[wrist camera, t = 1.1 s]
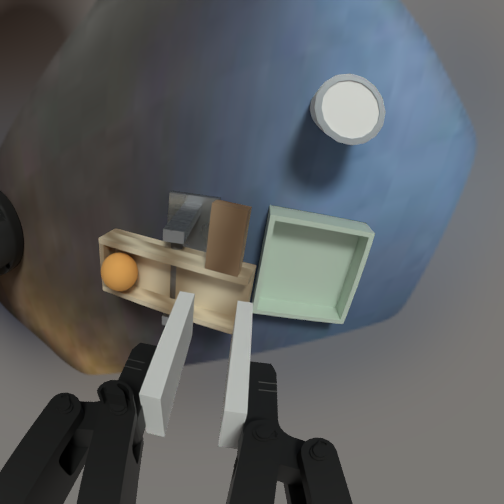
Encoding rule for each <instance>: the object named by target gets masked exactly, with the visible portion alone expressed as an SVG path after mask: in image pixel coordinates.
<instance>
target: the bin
mask: <svg viewBox="0 0 504 504" xmlns="http://www.w3.org/2000/svg"><path fill="white" fill-rule="evenodd" d="M374 235H375V233H374V232H373V231H372V230H371V228H370V227H369V226H368V225H367V224H366V223H363V222H358V221H353V220H348V219H343V218H338V217H333V216H328V215H322V214H317V213H312V212H306V211H301V210H295V209H289V208H283V207H278V206H272V205H270V207H269V212H268V218H267V223H266V228H265V234H264V239H263V244H262V250H261V255H260V260H259V265H258V271H257V276H256V281H255V286H254V292H253V297H252V303H253V313H256V314H263V315H270V316H277V317H285V318H293V319H301V320H310V321H318V322H327V323H337V324H343V323H344V320H345V318H346V315H347V313H348V310H349V307H350V305H351V302H352V300H353V297H354V294H355V291H356V289H357V286H358V283H359V280H360V278H361V275H362V272H363V269H364V266H365V263H366V260H367V257H368V254H369V251H370V248H371V245H372V242H373V239H374Z"/></svg>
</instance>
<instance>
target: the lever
mask: <svg viewBox="0 0 504 504" xmlns="http://www.w3.org/2000/svg"><path fill="white" fill-rule="evenodd" d="M251 208H252V207H249V206H245V205H240V204H236V203H231V202H227V201H222V200H216V201H214V202H213V203H212V207H211V215H210V224H209V233H208V242H207V251H206V252H203V251H199V250H195V249H191V248H187V247H184V246H183V244H179V243H173V242H171V243H168V242H165V241H161V240H157V239H153V238H150V237H146V236H142V235H138V234H135V233H131V232H127V231H123V230H120V229H116V228H115V229H113V230H112V231H110V232H108V233H106V234H105V235H103V236H101V237H100V238H99V250H100V264H101V267H102V264H103V262H104V260H105V259H106V258H107V257H108V256H109V255H111V254H113V253H118V252H120V253H125V254H128V255H129V256H131V257H132V258H133V259H134V261H135V262H136V265H137V268H138V276H137V280H136V282H135V283H134V285H133V286H132V287H131V288H129V289H127V290H125V291H115V290H112V289H110V288H109V287H107V286H106V284H105V283H104V281H103V279H102V285H103V290H104V291H106V292H109V293H111V294H114V295H117V296H119V297H122V298H124V299H127V300H130V301H132V302H135V303H138V304H141V305H143V306H146V307H149V308H152V309H155V310H157V311H160V312H163V313H166V314H169V315H170V314H171V311H172V309H173V306H174V304H175V301H176V299H177V297H178V294H179V292H180V291H182V292H188V293H194V294H195V298H194V313H193V323H196V324H199V325H203V326H206V327H209V328H212V329H216V330H219V331H222V332H226V333H229V334H232V333H233V326H234V320H235V314H236V308H237V302H238V301H243V302H250V297H251V292H252V287H253V281H254V276H255V271H256V265H253V264H249V263H245V262H243V256H244V250H245V244H246V238H247V232H248V226H249V220H250V214H251Z"/></svg>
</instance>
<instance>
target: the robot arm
mask: <svg viewBox="0 0 504 504" xmlns="http://www.w3.org/2000/svg"><path fill="white" fill-rule="evenodd" d="M22 254H23V233H22V228H21V224H20V221H19V218H18V216H17V213H16V211H15V209H14V207H13V205H12V204H11V202H10V201H9V199H8V198H7V197H6V196H5V195H4V194H3V193H2V192H1V191H0V275H3V274H6V273H8V272H9V271H11V270H12V269H13V268H14V267H15V266H17V265H18V263H19V262H20V260H21V257H22ZM194 298H195V294H194V293H188V292H182V291H180V292H179V294H178V297H177V299H176V301H175V304H174V306H173V309H172V311H171V314H170V316H169V318H168V321H167V323H166V326H165V328H164V331H163V333H162V336H161V338H160V341H159V343H158V346H153V345H149V344H144V343H139V344H138V345H137V346H136V347H135V348H133V349H132V351H131V353H130V356H129V358H128V360H127V362H126V364H125V367H124V368H123V371H122V373H121V375H120V377H119V380H110V381H107V382H104V383H103V384H102V385H100V387H99V388H98V390H97V393H98V396H99V399H100V401H98V402H81V401H79V400H78V398H77V397H76V396H75V395H73V394H69V393H60V394H58V395H56V396H54V397H53V398H52V399H51V400H50V402H49V403H48V405H47V406H46V407H45V409H44V410H43V411H42V413H41V414H40V415H39V417H38V418H37V420H36V421H35V422H34V424H33V425H32V426H31V428H30V429H29V430H28V432H27V433H26V435H25V436H24V438H23V439H22V440H21V442H20V443H19V445H18V446H17V448H16V449H15V451H14V452H13V454H12V455H11V457H10V458H9V460H8V461H7V462H6V464H5V466H4V467H3V468H2V470H1V472H0V504H63V503H64V501H65V500H66V497H67V496H68V494H69V492H70V490H71V488H72V487H73V485H74V483H75V481H76V479H77V478H78V476H79V474H80V472H81V470H82V469H83V467H84V465H85V467H84V471H83V476H82V481H81V485H80V490H79V495H78V500H77V504H136V496H137V487H138V479H139V471H140V464H141V457H142V449H143V433H144V430H145V428H146V432H147V433H150V434H155V435H159V436H163V437H165V434H166V430H167V426H168V422H169V418H170V414H171V410H172V407H173V403H174V399H175V395H176V392H177V388H178V384H179V380H180V377H181V373H182V369H183V366H184V362H185V359H186V355H187V351H188V348H189V344H190V341H191V337H192V329H193V313H194ZM252 313H253V303H250V302H243V301H238V302H237V308H236V314H235V320H234V326H233V333H232V339H231V346H230V354H229V362H228V369H227V379H226V385H225V394H224V402H223V410H222V418H221V426H220V434H219V443H218V446H219V447H226V448H234V449H237V448H238V451H237V458H236V460H235V464H234V470H233V475H232V480H231V484H230V488H229V493H228V497H227V502H226V504H274V499H275V491H276V483H277V481H280V482H283V483H284V488H285V493H286V499H287V504H352V501H351V497H350V494H349V490H348V488H347V484H346V481H345V477H344V474H343V471H342V467H341V464H340V461H339V457H338V454H337V451H336V449H335V447H334V445H333V444H332V443H330V442H329V441H328V440H325V439H323V438H313V439H309V440H307V441H303V440H300V439H297V438H294V437H291V436H289V435H288V434H286V433H285V432H284V431H283V430H282V429H281V428H280V426H279V423H278V412H277V411H278V410H277V385H276V383H277V381H276V372H275V370H274V368H273V366H272V365H271V364H267V363H258V362H250V352H251V333H252Z"/></svg>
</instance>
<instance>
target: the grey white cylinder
mask: <svg viewBox="0 0 504 504" xmlns="http://www.w3.org/2000/svg"><path fill="white" fill-rule="evenodd" d="M310 112H311V117H312V119H313V121H314V122H315V124H316V125H317V126H318V127H319V128H320V129H321V130H322V131H323V132H324V133H326V134H327V135H328V136H330V137H331V138H333V139H334V140H336V141H337V142H340V143H344V144H348V145H356V144H363V143H366V142H367V141H369V140H370V139H372V138H374V137H375V136H376V135H377V133H378V132H379V130H380V129H381V127H382V126H383V122H384V117H385V107H384V102H383V98H382V96H381V95H380V93H379V92H378V90H377V88H376V87H375V86H374V85H373V84H372V83H370V82H369V81H368V80H366V79H365V78H363V77H360V76H357V75H353V74H343V75H336V76H334V77H333V78H331V79H329V80H327V81H326V82H324V84H323V85H322V86H321V87H320V88H319V90H318V91H317V92H316V94H315V95H314V97H313V98H312V100H311V105H310Z"/></svg>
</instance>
